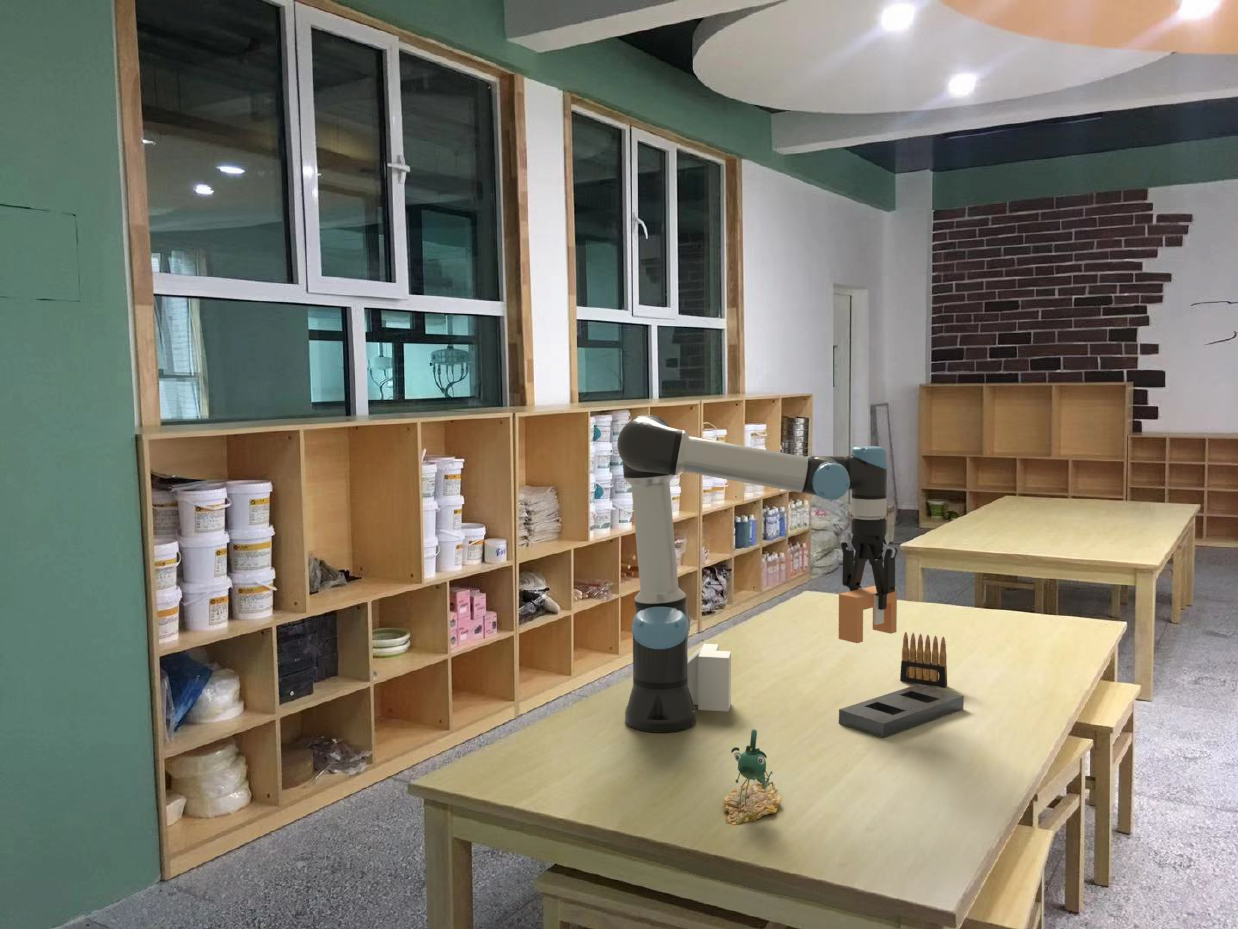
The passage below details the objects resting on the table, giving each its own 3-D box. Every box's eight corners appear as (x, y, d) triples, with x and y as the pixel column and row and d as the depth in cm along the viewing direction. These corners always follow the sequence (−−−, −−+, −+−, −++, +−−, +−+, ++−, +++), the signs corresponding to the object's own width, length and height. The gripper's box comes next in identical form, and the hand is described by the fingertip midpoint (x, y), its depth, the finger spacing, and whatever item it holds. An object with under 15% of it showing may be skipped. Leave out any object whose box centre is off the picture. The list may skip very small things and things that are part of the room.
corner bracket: (728, 711, 229) (728, 658, 228) (677, 708, 231) (677, 655, 230) (733, 696, 239) (733, 645, 238) (684, 693, 242) (683, 642, 241)
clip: (857, 643, 225) (857, 597, 224) (838, 638, 229) (838, 594, 228) (896, 632, 234) (896, 588, 233) (878, 628, 237) (878, 584, 236)
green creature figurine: (803, 795, 185) (800, 717, 182) (756, 844, 170) (752, 760, 167) (754, 782, 190) (751, 706, 187) (704, 829, 176) (700, 747, 173)
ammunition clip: (899, 681, 250) (900, 632, 248) (902, 679, 251) (902, 630, 250) (945, 688, 244) (946, 638, 243) (947, 686, 246) (948, 636, 245)
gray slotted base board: (883, 738, 212) (883, 723, 211) (838, 723, 221) (839, 709, 220) (963, 709, 229) (963, 695, 229) (919, 696, 238) (919, 683, 238)
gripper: (914, 519, 224) (912, 625, 226) (846, 511, 238) (846, 611, 240) (892, 523, 219) (891, 631, 221) (825, 514, 233) (824, 616, 235)
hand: (868, 621), depth 231 cm, fingers closed on clip, 5 cm apart
